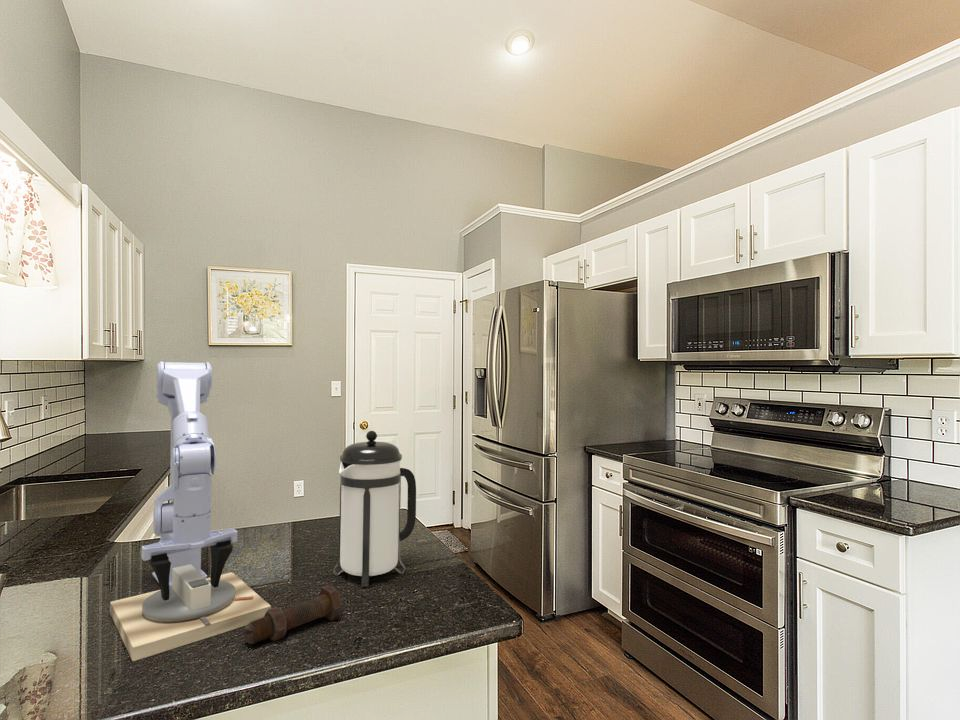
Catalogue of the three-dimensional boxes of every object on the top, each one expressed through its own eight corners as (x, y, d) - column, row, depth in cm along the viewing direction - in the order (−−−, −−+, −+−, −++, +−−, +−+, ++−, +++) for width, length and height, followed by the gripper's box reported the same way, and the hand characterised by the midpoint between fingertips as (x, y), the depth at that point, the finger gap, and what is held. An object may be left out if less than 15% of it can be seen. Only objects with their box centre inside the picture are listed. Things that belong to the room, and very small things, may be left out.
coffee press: (405, 589, 101) (407, 435, 102) (323, 588, 101) (326, 434, 102) (415, 557, 118) (417, 426, 119) (345, 556, 118) (348, 425, 119)
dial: (134, 600, 90) (135, 572, 90) (220, 579, 99) (221, 553, 99) (152, 631, 79) (153, 599, 79) (246, 603, 89) (247, 575, 89)
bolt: (245, 657, 80) (332, 621, 91) (256, 652, 77) (345, 615, 88) (237, 618, 82) (323, 587, 93) (248, 612, 79) (336, 580, 90)
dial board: (110, 613, 90) (110, 600, 90) (231, 582, 103) (231, 570, 103) (132, 661, 75) (133, 646, 75) (270, 617, 89) (271, 604, 89)
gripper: (148, 526, 82) (146, 612, 81) (244, 509, 92) (242, 587, 91) (139, 516, 87) (137, 598, 87) (230, 502, 97) (229, 575, 96)
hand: (190, 591), depth 89 cm, fingers open, 7 cm apart
